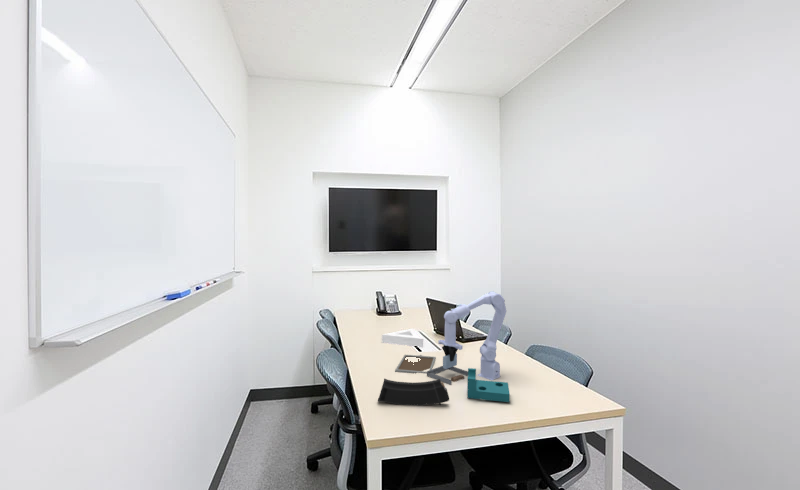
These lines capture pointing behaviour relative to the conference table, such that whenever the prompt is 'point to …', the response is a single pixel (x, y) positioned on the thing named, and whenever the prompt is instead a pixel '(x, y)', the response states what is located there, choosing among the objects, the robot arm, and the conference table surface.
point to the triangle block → (403, 338)
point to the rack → (433, 372)
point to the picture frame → (415, 364)
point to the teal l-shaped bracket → (486, 388)
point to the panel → (447, 362)
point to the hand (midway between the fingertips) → (449, 360)
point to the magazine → (413, 392)
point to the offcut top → (457, 377)
